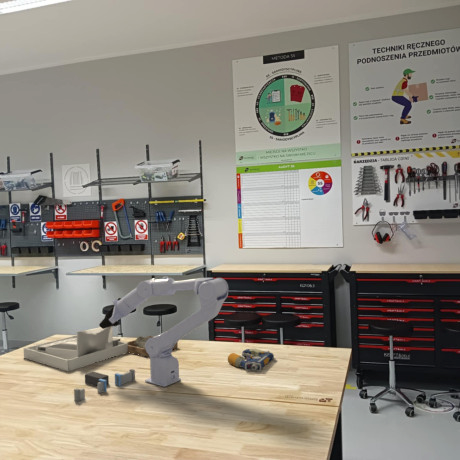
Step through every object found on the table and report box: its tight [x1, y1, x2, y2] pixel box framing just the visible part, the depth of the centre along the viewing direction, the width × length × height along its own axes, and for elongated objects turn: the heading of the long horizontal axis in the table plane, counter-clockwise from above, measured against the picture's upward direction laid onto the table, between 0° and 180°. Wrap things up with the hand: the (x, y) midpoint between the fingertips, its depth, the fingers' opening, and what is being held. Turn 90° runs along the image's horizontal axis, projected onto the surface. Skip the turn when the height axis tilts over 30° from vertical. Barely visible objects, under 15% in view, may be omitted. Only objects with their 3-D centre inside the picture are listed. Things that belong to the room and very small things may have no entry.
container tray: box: [23, 334, 128, 372], centre depth 186 cm, size 31×28×4 cm
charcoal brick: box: [84, 371, 110, 387], centre depth 151 cm, size 8×3×3 cm, turn 55°
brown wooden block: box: [126, 335, 179, 358], centre depth 191 cm, size 17×16×3 cm
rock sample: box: [134, 335, 150, 349], centre depth 190 cm, size 10×8×9 cm
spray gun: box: [227, 348, 275, 372], centre depth 169 cm, size 21×4×15 cm
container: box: [36, 326, 121, 360], centre depth 186 cm, size 22×25×12 cm
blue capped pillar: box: [73, 368, 136, 403], centre depth 145 cm, size 3×22×4 cm, turn 143°
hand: (105, 320), depth 162 cm, fingers open, 7 cm apart
